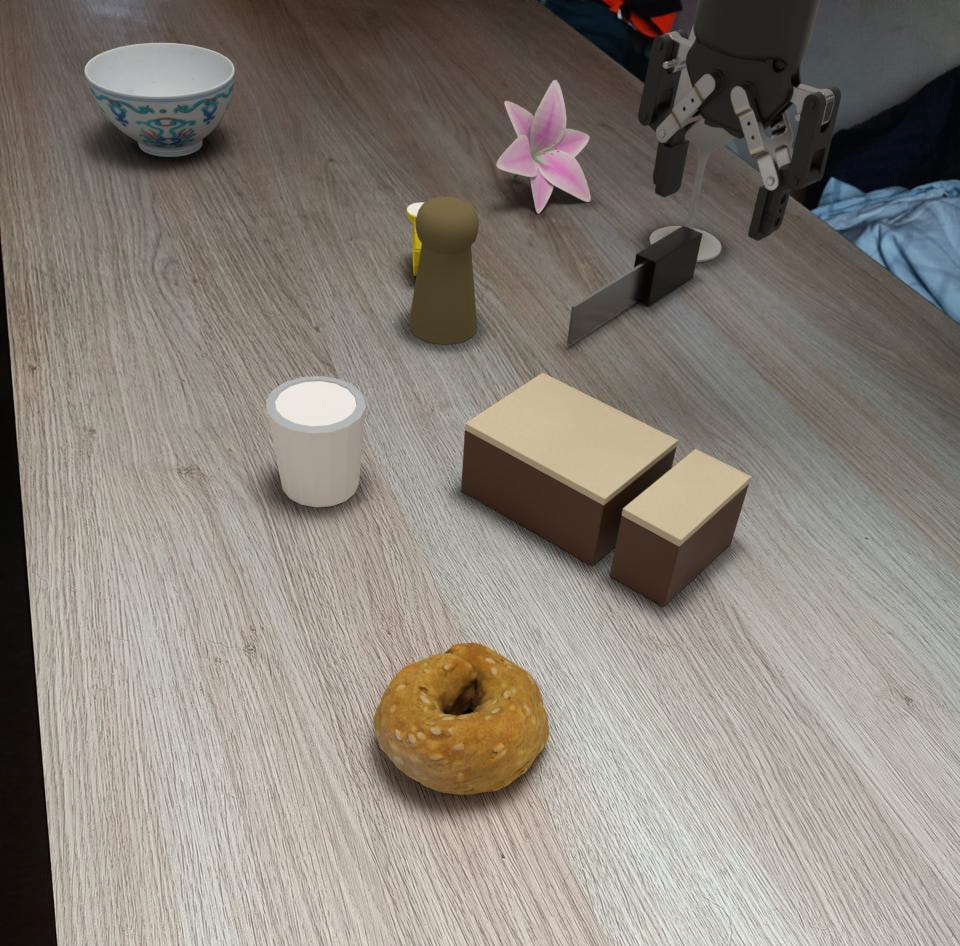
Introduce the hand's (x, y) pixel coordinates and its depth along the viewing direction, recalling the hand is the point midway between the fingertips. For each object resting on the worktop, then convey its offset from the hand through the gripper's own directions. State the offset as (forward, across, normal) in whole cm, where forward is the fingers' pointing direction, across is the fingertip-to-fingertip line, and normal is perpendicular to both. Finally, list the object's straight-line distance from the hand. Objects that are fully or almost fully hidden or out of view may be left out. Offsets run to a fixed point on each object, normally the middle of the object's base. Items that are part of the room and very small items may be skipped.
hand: (712, 214), depth 80 cm
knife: (+16, +12, -9) cm, 22 cm away
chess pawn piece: (+16, +20, +7) cm, 27 cm away
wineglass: (+16, +17, -22) cm, 32 cm away
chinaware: (+16, +66, +6) cm, 68 cm away
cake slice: (+16, -13, +16) cm, 26 cm away
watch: (+16, +29, +2) cm, 33 cm away
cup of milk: (+16, +10, +29) cm, 35 cm away
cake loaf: (+16, -3, +17) cm, 23 cm away
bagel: (+16, -15, +37) cm, 43 cm away
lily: (+16, +33, -18) cm, 41 cm away
